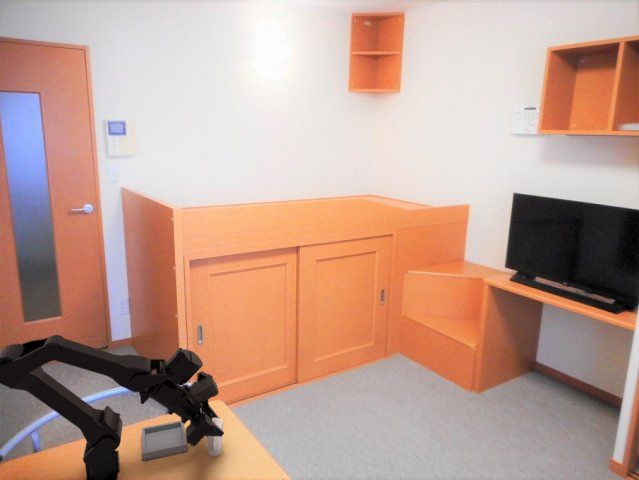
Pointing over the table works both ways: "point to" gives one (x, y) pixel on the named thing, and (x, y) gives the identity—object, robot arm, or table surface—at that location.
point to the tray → (163, 440)
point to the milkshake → (215, 440)
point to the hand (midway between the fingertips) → (221, 428)
